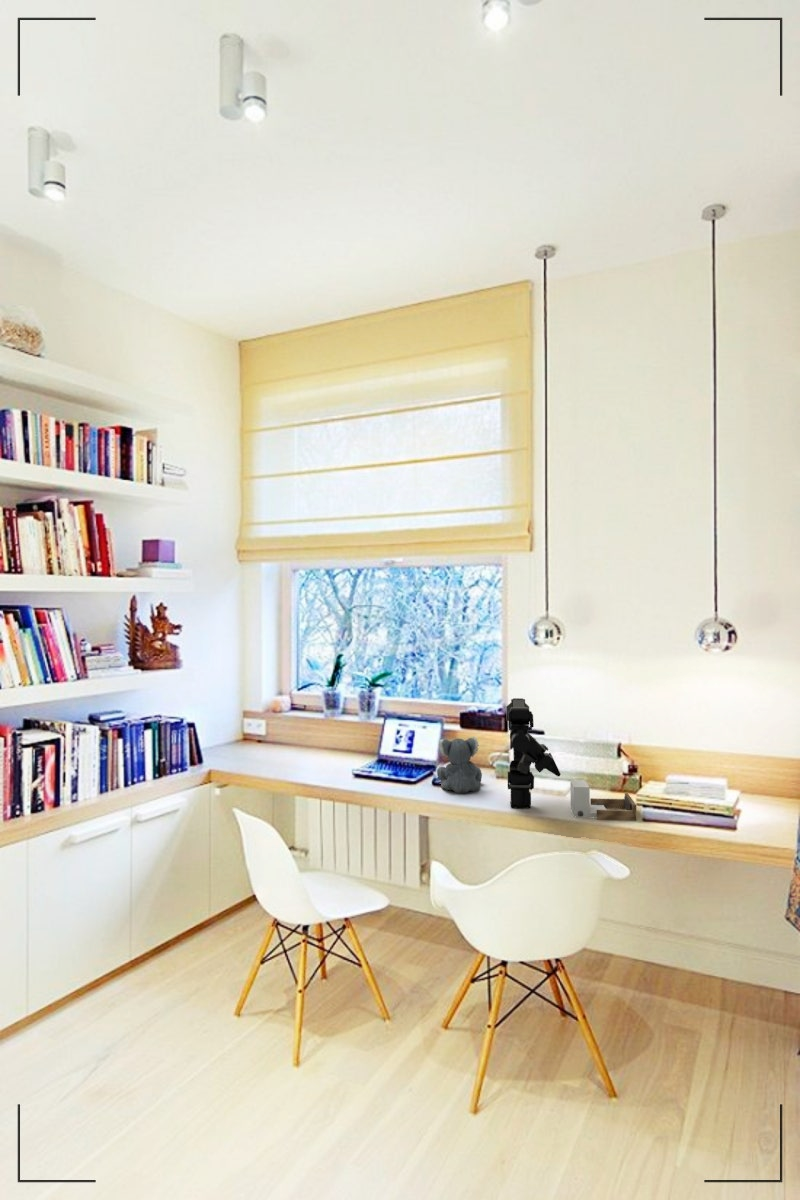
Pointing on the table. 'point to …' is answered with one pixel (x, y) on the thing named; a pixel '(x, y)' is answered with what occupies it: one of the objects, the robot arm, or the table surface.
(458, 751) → the koala plush
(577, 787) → the grey block with dot
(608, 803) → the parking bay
